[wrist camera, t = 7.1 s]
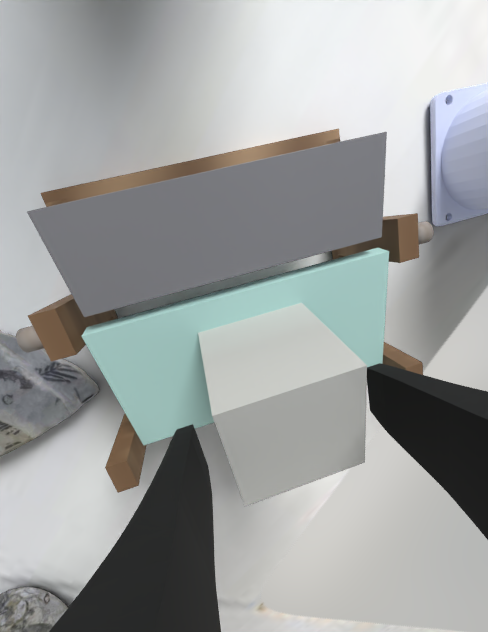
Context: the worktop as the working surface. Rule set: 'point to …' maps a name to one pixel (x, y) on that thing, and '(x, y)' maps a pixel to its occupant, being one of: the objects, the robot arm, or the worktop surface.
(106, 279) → the trapdoor plate
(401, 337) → the worktop surface
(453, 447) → the robot arm
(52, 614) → the fossilized seashell
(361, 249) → the walnut frame
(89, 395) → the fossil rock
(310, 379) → the stone block
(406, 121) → the worktop surface
